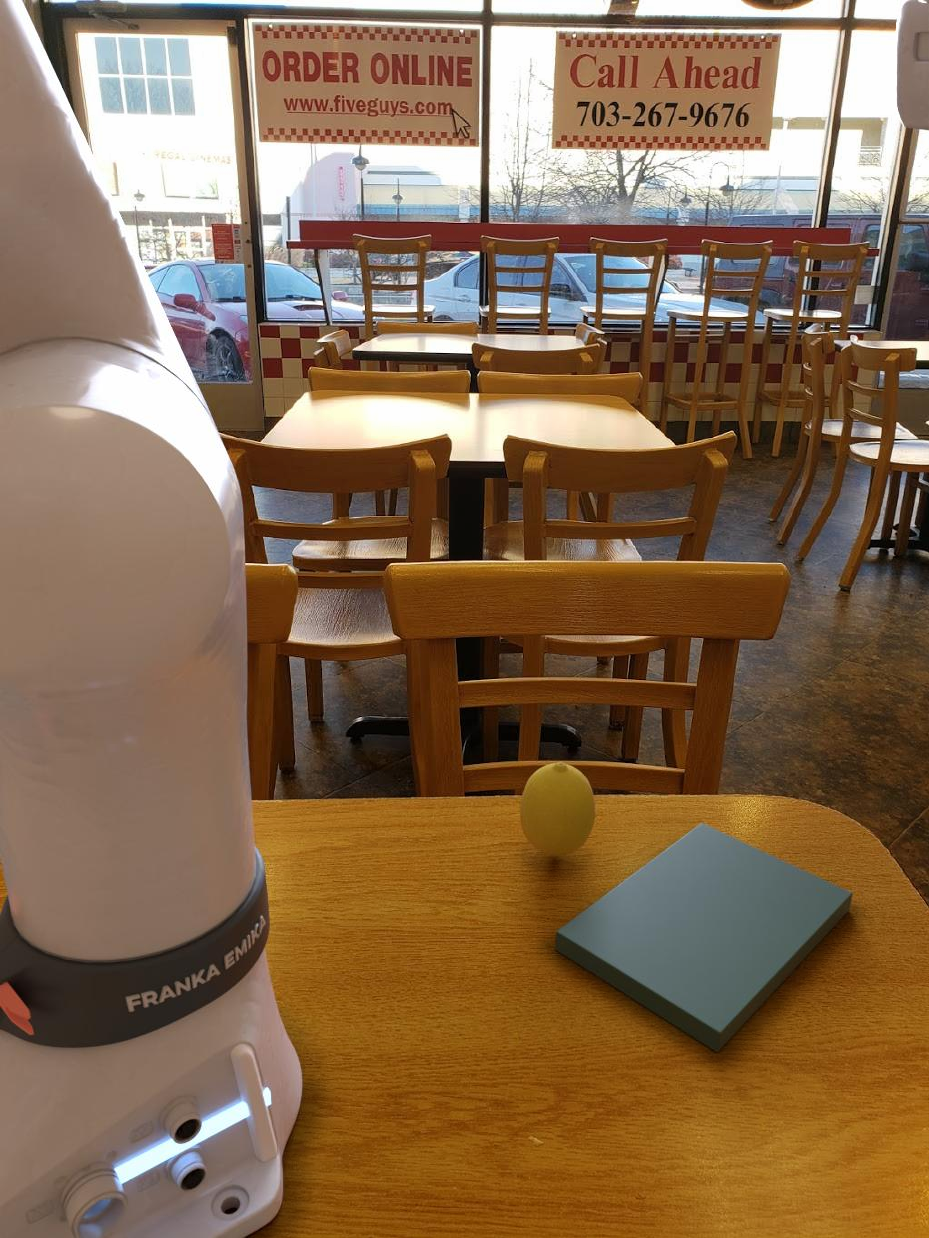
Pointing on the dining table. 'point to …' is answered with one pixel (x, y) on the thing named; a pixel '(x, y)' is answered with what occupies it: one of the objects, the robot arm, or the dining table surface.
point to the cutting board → (705, 932)
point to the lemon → (557, 809)
